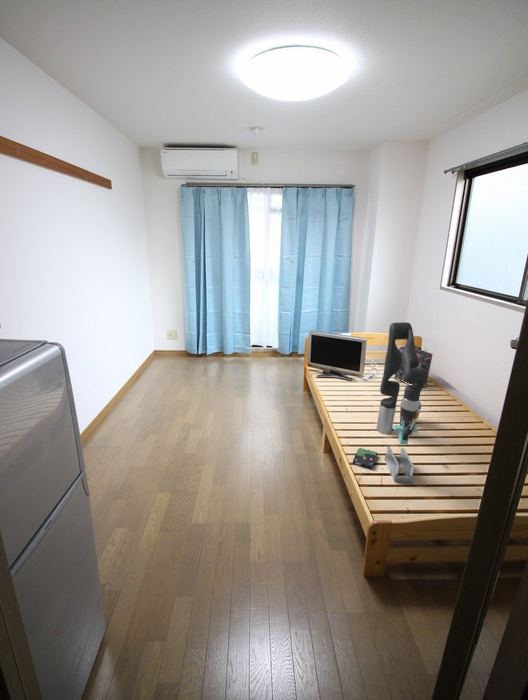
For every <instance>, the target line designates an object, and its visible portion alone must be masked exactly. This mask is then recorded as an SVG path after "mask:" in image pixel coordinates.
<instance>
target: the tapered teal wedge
mask: <svg viewBox="0 0 528 700" xmlns="http://www.w3.org/2000/svg"><path fill="white" fill-rule="evenodd" d="M413 426H414V429H413V431H412V433H416V434H417V433H418V432H419V429H418V428H417V426H415V425H413ZM392 429H393V430H394V431H395V432H399V434H398V440H397V441H398V442H399V444H400V445H408V444H409V438H410V435H408V440H407V441H406V440H403V435H404V428H403V426H402V425H400V424H398V425H397V424H393V427H392ZM406 430H407V429H406Z"/></svg>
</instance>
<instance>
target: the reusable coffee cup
mask: <svg viewBox="0 0 528 700" xmlns="http://www.w3.org/2000/svg"><path fill="white" fill-rule="evenodd" d="M402 400H403V398H402V399H401V401H400V407H399V408H400V409H399V411H400V410H401V405H402ZM421 409H422V402H421V401H419V405H418V410H417V416H416V418H414V419H412V425H413V426H415V424H416V423H417V420H418V418H419V415H420V413H421V412H420V410H421Z"/></svg>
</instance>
